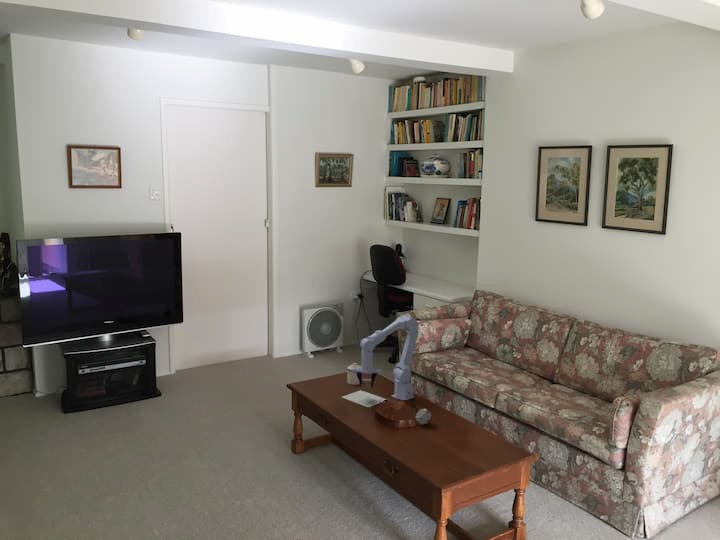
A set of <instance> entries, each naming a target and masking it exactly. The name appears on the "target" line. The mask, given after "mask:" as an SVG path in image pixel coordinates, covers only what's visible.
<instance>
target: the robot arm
mask: <svg viewBox="0 0 720 540" xmlns="http://www.w3.org/2000/svg"><path fill="white" fill-rule="evenodd" d="M418 327H419V323H418V321H417V320H416V319H415V318H414V317H411V316H409V315H407V314H402V315H400V316H399V317H397V318H396V319H395V320H394V321H393V322H391V324H389V325H388V326H386V327H385V328H384V329H382V330H381V329H380V330H379V329H378V330H375V331H374V333H372V334H371V335H368V336H367V337H366V338H362V339H361V340H360V343H359V347H360V348H361V365H360V366H361V368H357V369H353V373H357V377H358V379H359V382H360V384H359V385H360V388H361V383H362V380H363V377H362V373H363V374H369V375H370V374H371V378H370V379H372V383H371V388H373V387H374V382H375V380H376V378H377V375H382V369H376V368H373V358H374V357H373V353H374V352H373V350H374V349H375V348H376V346H377V345H379V344H381V342H383V341H385V340H386V337H387V336H389V335H390V334H392V333H394V332H395V331H398V330H405V331H406V333H407V335H406V339H405V342H404V346H403V350H402V353H401V355H400V361H399V362H397V363H396V365H395V367H394V369H393V370H392V375H393V377H394V394H391V395H390V396H391V397H393V398H395V399H399V400H402V401H403V400H406V401H408V400H411V399H413V398H414V395H413V394H414V385H413V384H412V383H411V382H410V380H411V377H412V375H411V373H412V372H411V371H412V368H411V365H410V364H411V361H412V358H413V354H414V350H415V348H416V343H417V342H418V341H417V340H418V337H419V328H418Z"/></svg>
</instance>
